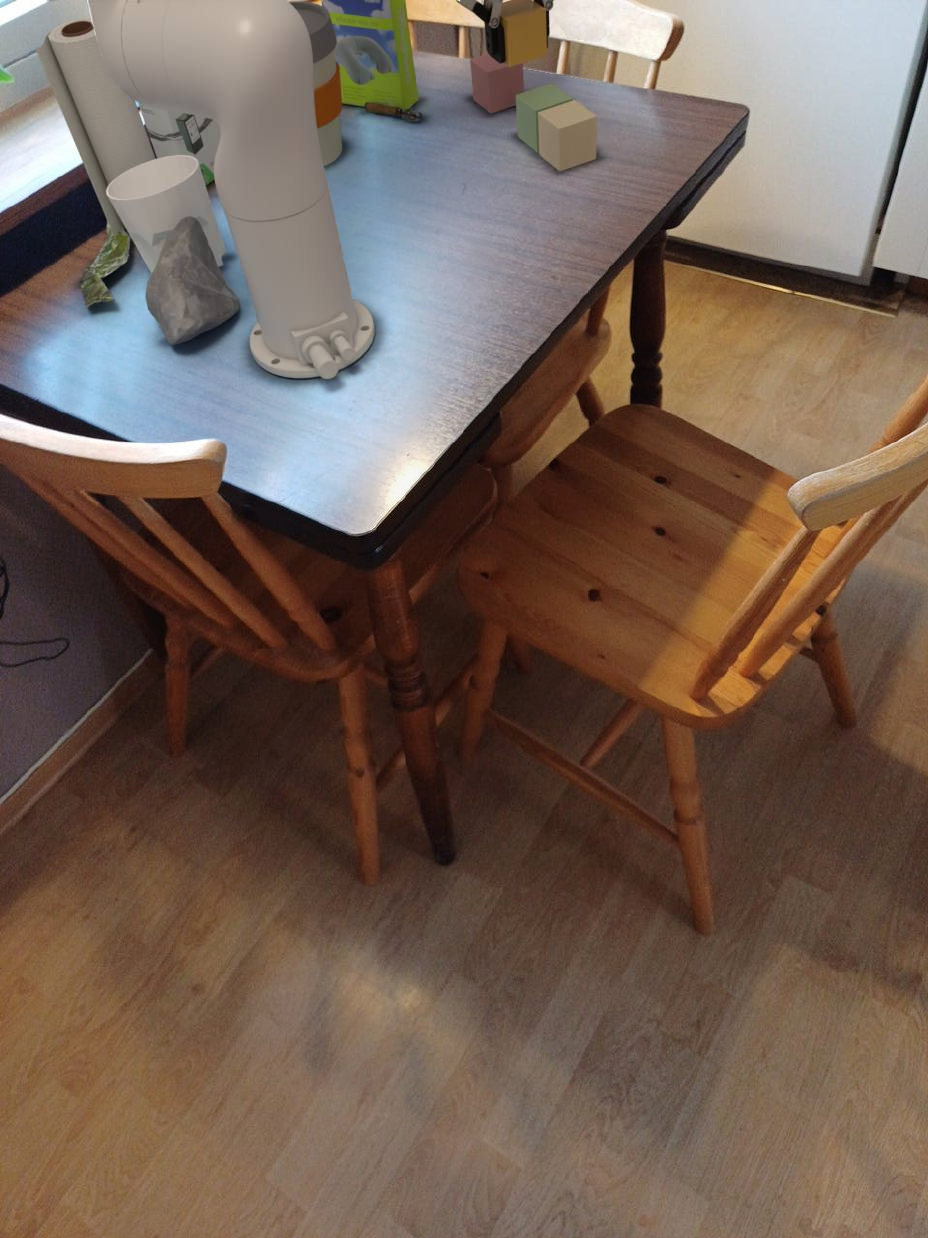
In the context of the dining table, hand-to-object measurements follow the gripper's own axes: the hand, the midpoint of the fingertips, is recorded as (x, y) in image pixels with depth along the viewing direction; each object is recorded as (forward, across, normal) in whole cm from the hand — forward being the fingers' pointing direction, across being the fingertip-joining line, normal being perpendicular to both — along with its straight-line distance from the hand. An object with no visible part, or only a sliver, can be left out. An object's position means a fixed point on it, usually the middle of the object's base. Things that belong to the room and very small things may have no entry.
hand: (518, 50), depth 114 cm
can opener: (+8, -13, +11) cm, 19 cm away
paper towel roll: (+8, -48, +4) cm, 49 cm away
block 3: (+8, 0, -12) cm, 14 cm away
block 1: (+8, 0, +6) cm, 10 cm away
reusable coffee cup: (+8, -26, +9) cm, 29 cm away
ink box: (+8, -39, +12) cm, 42 cm away
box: (+8, -13, +16) cm, 22 cm away
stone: (+8, -44, -18) cm, 48 cm away
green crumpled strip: (+6, -52, 0) cm, 53 cm away
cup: (+7, -46, -8) cm, 48 cm away
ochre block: (0, 0, 0) cm, 0 cm away
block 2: (+8, 0, -6) cm, 10 cm away
